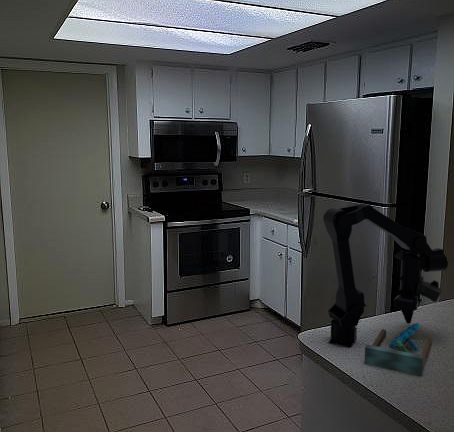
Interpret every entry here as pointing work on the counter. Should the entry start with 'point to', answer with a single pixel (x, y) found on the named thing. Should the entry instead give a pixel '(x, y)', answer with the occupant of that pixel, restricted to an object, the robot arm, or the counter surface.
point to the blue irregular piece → (405, 338)
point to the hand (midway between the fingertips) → (408, 323)
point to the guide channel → (396, 356)
